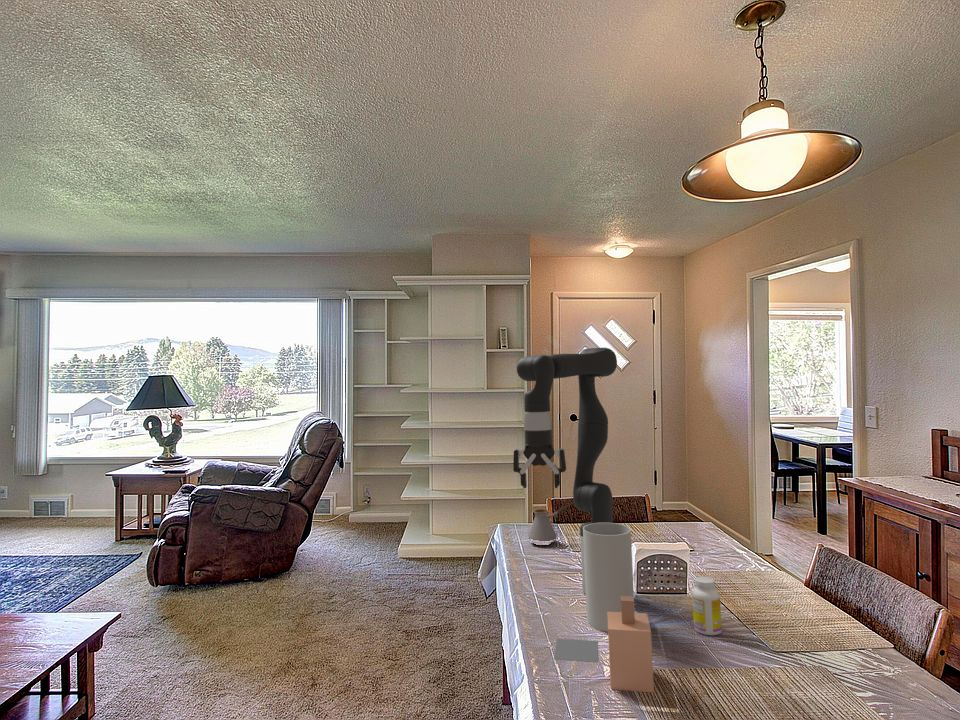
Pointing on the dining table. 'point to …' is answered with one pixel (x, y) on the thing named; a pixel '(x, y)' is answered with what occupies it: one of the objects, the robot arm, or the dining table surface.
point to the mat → (576, 650)
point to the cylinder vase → (606, 570)
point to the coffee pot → (544, 525)
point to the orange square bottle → (630, 649)
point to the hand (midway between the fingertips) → (540, 487)
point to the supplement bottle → (706, 607)
